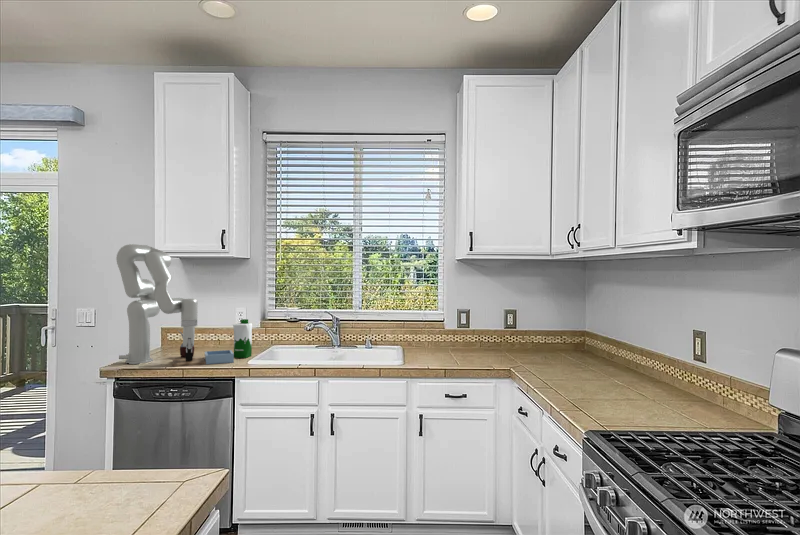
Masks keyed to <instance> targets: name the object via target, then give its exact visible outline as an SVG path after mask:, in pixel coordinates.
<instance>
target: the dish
mask: <svg viewBox="0 0 800 535" xmlns="http://www.w3.org/2000/svg"><path fill="white" fill-rule="evenodd" d="M204 358H205V361H206V364H205V365H218V364H230V363H231V364H232V363H233V364H234V360H235V357H234V351H233V350H232V349H224V350H209V351H204Z"/></svg>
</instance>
